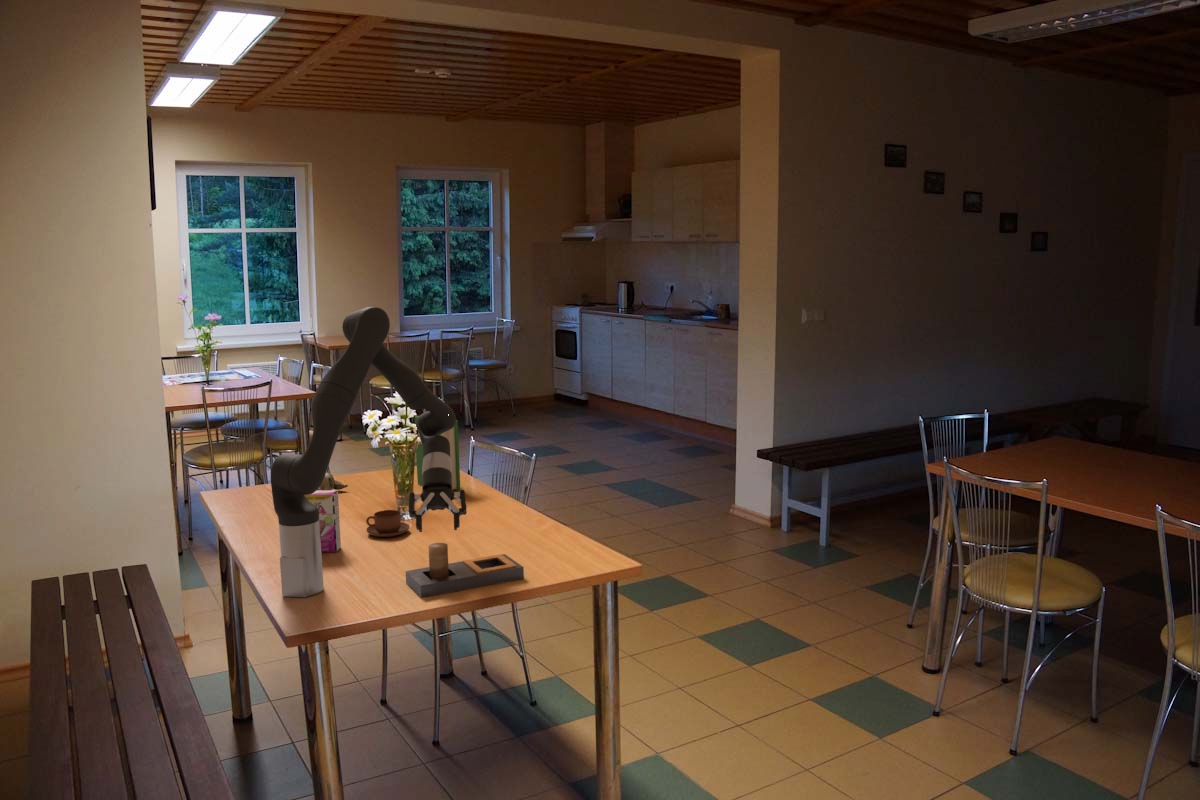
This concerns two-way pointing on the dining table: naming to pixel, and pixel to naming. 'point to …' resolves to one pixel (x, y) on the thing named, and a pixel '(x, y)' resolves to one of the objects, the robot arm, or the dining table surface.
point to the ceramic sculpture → (331, 483)
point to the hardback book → (454, 456)
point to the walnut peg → (438, 560)
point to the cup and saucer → (386, 524)
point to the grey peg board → (466, 575)
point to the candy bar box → (327, 518)
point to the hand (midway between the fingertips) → (438, 529)
